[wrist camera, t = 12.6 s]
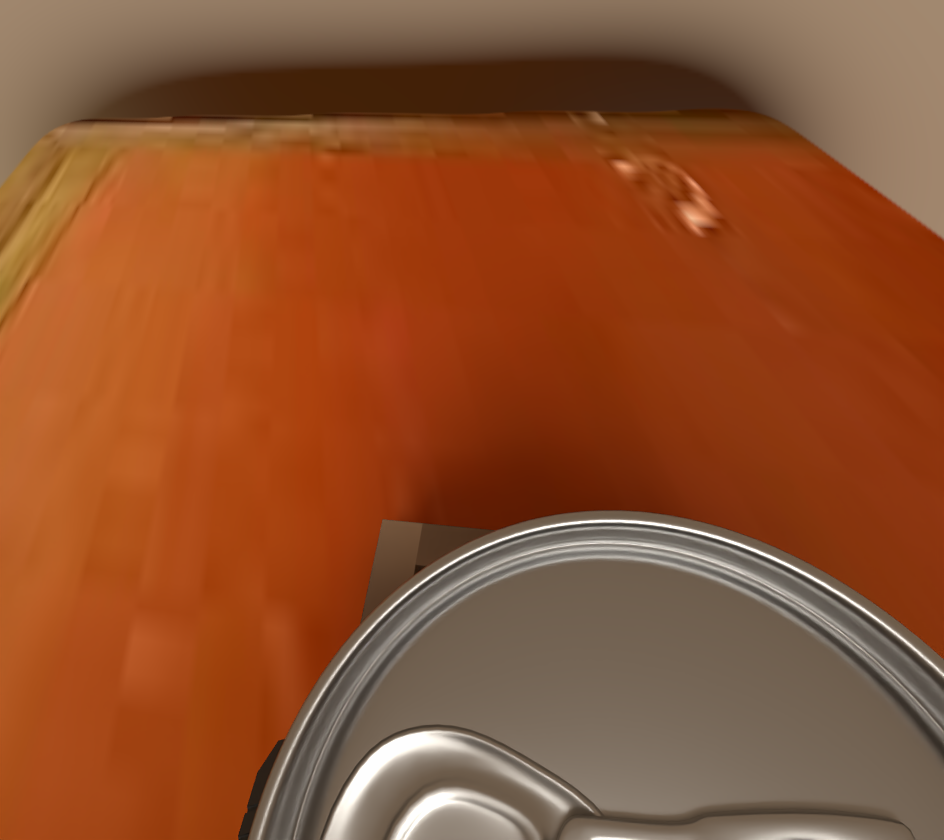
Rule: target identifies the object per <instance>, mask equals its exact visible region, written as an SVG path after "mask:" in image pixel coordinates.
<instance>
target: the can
mask: <svg viewBox="0 0 944 840" xmlns="http://www.w3.org/2000/svg"><path fill="white" fill-rule="evenodd" d="M248 840H944V659H943V658H941V657H940V656H939V655H938V654H937V653H936V652H935V651H933V650H932V649H931V648H930V647H929V646H928V645H927V644H925V643H924V642H923V641H922V640H921V639H920V638H918V637H917V636H916V635H915V634H913V633H912V632H911V631H910V630H908V629H907V628H906V627H905V626H904V625H902V624H901V623H900V622H898V621H897V620H896V619H894V618H893V617H892V616H890V615H889V614H888V613H886V612H885V611H884V610H882V609H881V608H880V607H878V606H877V605H875V604H874V603H872V602H871V601H870V600H868V599H867V598H865V597H864V596H862V595H861V594H859V593H858V592H856V591H855V590H853V589H852V588H850V587H849V586H847V585H845V584H844V583H842V582H840V581H839V580H837V579H835V578H834V577H832V576H830V575H829V574H827V573H825V572H823V571H822V570H820V569H818V568H816V567H814V566H813V565H811V564H809V563H807V562H805V561H803V560H801V559H799V558H797V557H795V556H793V555H791V554H789V553H787V552H785V551H782V550H780V549H778V548H776V547H774V546H771V545H769V544H766V543H764V542H762V541H759V540H757V539H754V538H751V537H749V536H746V535H743V534H741V533H738V532H735V531H732V530H728V529H725V528H722V527H719V526H715V525H712V524H708V523H704V522H700V521H696V520H692V519H687V518H682V517H677V516H672V515H665V514H658V513H651V512H640V511H625V510H595V511H580V512H570V513H563V514H556V515H550V516H545V517H540V518H536V519H531V520H527V521H523V522H520V523H517V524H513V525H510V526H507V527H504V528H501V529H498V530H495V531H493V532H490V533H488V534H485V535H483V536H481V537H478V538H476V539H474V540H472V541H469V542H467V543H466V544H464V545H462V546H460V547H458V548H456V549H454V550H452V551H450V552H449V553H447V554H445V555H443V556H442V557H440V558H438V559H437V560H435V561H434V562H432V563H431V564H429V565H428V566H426V567H425V568H423V569H422V570H420V571H419V572H418V573H416V574H415V575H414V576H412V577H411V578H410V579H408V580H407V581H406V582H404V583H403V584H402V585H401V586H400V587H398V588H397V589H396V590H395V591H394V592H393V593H391V594H390V595H389V596H388V597H387V598H386V599H385V600H384V601H383V602H382V603H380V604H379V605H378V606H377V607H376V608H375V609H374V610H373V611H372V612H371V613H370V614H369V615H368V616H367V617H366V619H365V620H364V621H363V622H362V623H361V624H360V625H359V626H358V627H357V629H356V630H355V631H354V632H353V633H352V634H351V636H350V637H349V638H348V639H347V640H346V642H345V643H344V644H343V645H342V647H341V648H340V649H339V651H338V652H337V653H336V654H335V656H334V657H333V658H332V660H331V661H330V663H329V664H328V666H327V667H326V668H325V670H324V671H323V673H322V674H321V676H320V677H319V679H318V680H317V682H316V684H315V685H314V687H313V688H312V690H311V691H310V693H309V695H308V697H307V698H306V700H305V702H304V703H303V705H302V707H301V709H300V711H299V712H298V714H297V716H296V718H295V720H294V722H293V724H292V726H291V728H290V730H289V732H288V734H287V736H286V738H285V740H284V742H283V744H282V746H281V749H280V751H279V753H278V755H277V758H276V760H275V762H274V765H273V767H272V770H271V772H270V775H269V777H268V780H267V782H266V785H265V788H264V791H263V793H262V796H261V799H260V802H259V805H258V808H257V811H256V814H255V817H254V820H253V823H252V827H251V830H250V834H249V837H248Z"/></svg>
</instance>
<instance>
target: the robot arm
mask: <svg viewBox="0 0 944 840" xmlns="http://www.w3.org/2000/svg"><path fill="white" fill-rule="evenodd" d="M284 740H285V739H283V740H279V741H278V742H277V744H276V745H275V747H274V748H273V750H272V751H271V753H270V754H269V756H268V757H267V759H266V760H265V762H264V764H263V765H262V767H261V768H260V770H259V771H258V773H257V776H256V779H255V783H254V786H253V789H252V792H251V796H250V799H249V802H248V805H247V808H248V811H247V813H245V815H244V818H243V822H242V825H241V828H240V832H239V835H238V838H239V840H248V837H249V834H250V830H251V827H252V823H253V820H254V817H255V814H256V811H257V808H258V805H259V802H260V799H261V796H262V793H263V791H264V788H265V785H266V782H267V780H268V777H269V775H270V772H271V770H272V767H273V765H274V762H275V760H276V758H277V755H278V753H279V751H280V749H281V746H282V744H283V742H284Z"/></svg>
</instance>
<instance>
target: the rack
mask: <svg viewBox="0 0 944 840" xmlns="http://www.w3.org/2000/svg"><path fill="white" fill-rule="evenodd" d="M493 531H495V530H486V529H475V528H465V527H455V526H445V525H435V524H425V523H414V522H404V521H394V520H384V519H383V520H382V525H381V530H380V534H379V539H378V544H377V548H376V553H375V558H374V562H373V567H372V572H371V576H370V581H369V586H368V591H367V595H366V600H365V605H364V609H363V614H362V619H361V623H362V622H363V621H364V620H365V619H366V617H367V616H368V615H369V614H370V613H371V612H372V611H373V610H374V609H375V608H376V607H377V606H378V605H379V604H380V603H382V602H383V601H384V600H385V599H386V598H387V597H388V596H389V595H390V594H391V593H393V592H394V591H395V590H396V589H397V588H398V587H400V586H401V585H402V584H403V583H404V582H406V581H407V580H408V579H410V578H411V577H412V576H414V575H415V574H416V573H418V572H419V571H420V570H422V569H423V568H425V567H426V566H428V565H429V564H431V563H432V562H434V561H435V560H437V559H438V558H440V557H442V556H443V555H445V554H447V553H449V552H450V551H452V550H454V549H456V548H458V547H460V546H462V545H464V544H466V543H467V542H469V541H472V540H474V539H476V538H478V537H481V536H483V535H485V534H488V533H490V532H493ZM361 623H360V624H361Z"/></svg>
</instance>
